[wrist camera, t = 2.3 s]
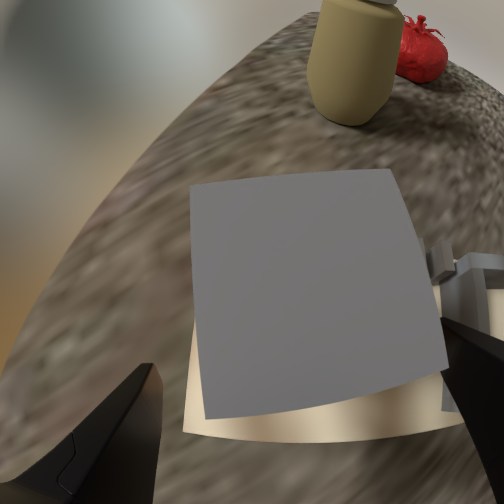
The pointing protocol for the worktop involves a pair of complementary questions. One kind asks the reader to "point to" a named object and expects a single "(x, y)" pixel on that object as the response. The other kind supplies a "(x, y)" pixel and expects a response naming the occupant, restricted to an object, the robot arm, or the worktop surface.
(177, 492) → the worktop surface
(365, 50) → the squeeze bottle
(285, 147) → the worktop surface
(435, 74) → the pomegranate
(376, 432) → the board
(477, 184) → the worktop surface
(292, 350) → the plug
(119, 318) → the worktop surface
